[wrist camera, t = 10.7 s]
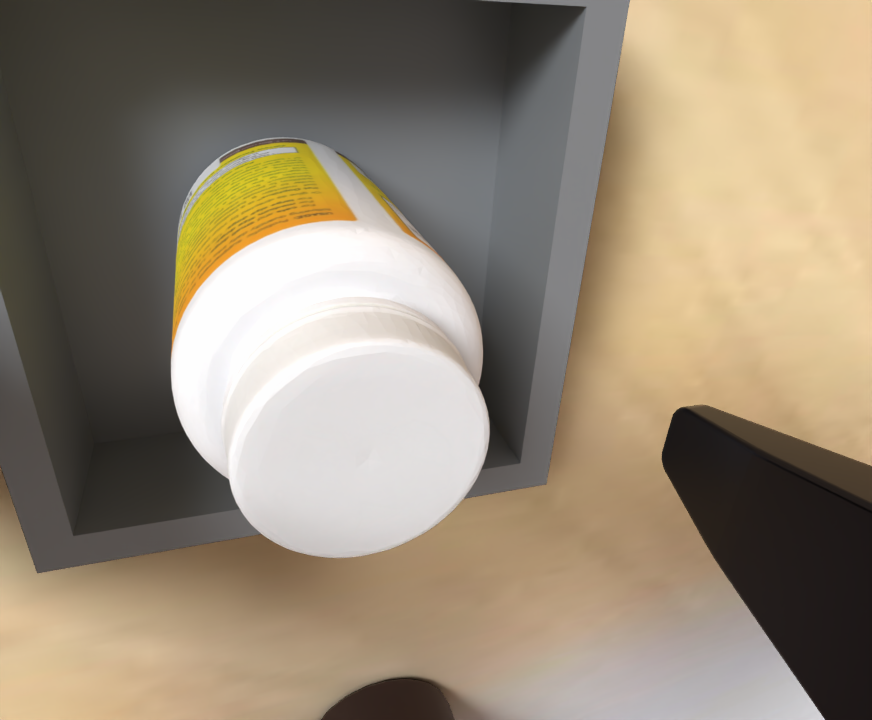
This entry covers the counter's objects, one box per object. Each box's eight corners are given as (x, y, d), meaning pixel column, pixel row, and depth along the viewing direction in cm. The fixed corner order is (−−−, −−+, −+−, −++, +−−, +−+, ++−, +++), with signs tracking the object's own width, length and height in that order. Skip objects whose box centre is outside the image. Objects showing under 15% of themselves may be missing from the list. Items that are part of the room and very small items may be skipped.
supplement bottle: (150, 293, 18) (109, 579, 9) (219, 93, 16) (246, 220, 7) (339, 349, 20) (443, 612, 12) (417, 183, 18) (604, 352, 10)
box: (492, 406, 24) (546, 484, 20) (67, 463, 20) (37, 573, 16) (542, -40, 17) (637, -46, 13) (-89, -91, 13) (-202, -120, 9)
